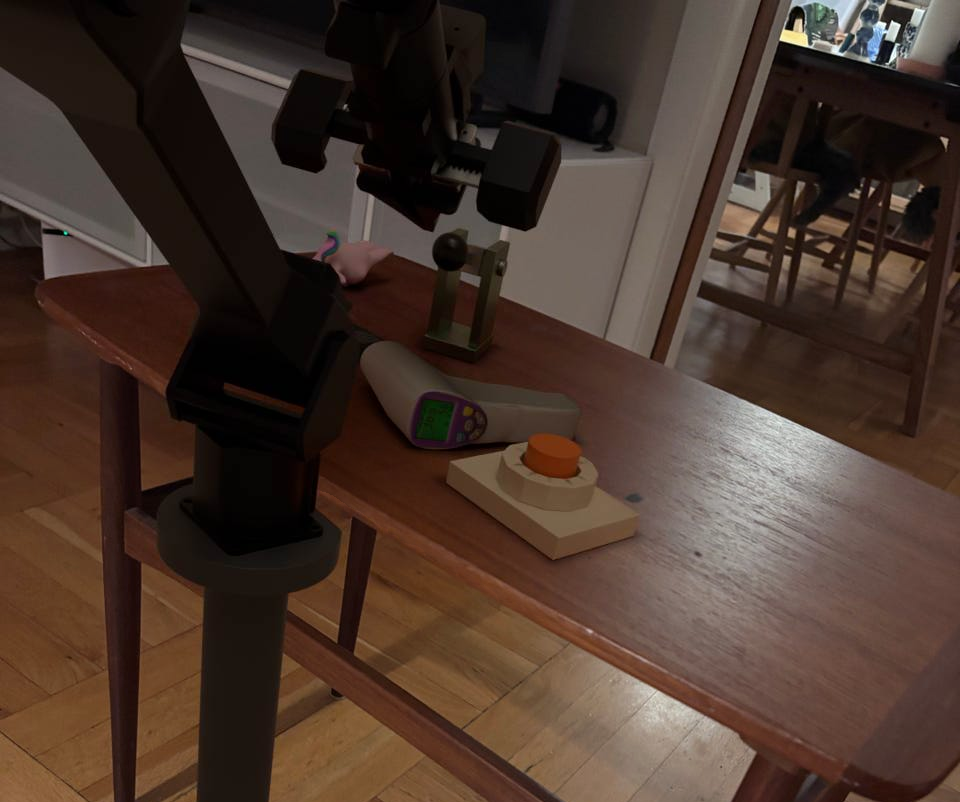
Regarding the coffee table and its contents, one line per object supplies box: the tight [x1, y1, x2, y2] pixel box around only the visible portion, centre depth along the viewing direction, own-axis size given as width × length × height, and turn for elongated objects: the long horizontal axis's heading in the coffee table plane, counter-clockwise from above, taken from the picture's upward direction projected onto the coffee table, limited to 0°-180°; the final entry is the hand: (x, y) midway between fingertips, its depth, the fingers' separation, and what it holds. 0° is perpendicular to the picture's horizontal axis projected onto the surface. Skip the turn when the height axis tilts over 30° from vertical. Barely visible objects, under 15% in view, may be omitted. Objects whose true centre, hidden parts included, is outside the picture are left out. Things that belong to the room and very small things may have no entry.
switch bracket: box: [422, 227, 511, 364], centre depth 89 cm, size 6×6×10 cm
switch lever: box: [431, 231, 487, 278], centre depth 83 cm, size 11×3×3 cm, turn 163°
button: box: [523, 434, 582, 479], centre depth 65 cm, size 4×4×2 cm
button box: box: [445, 442, 641, 561], centre depth 67 cm, size 8×11×4 cm
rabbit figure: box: [311, 230, 395, 288], centre depth 98 cm, size 6×6×15 cm
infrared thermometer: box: [359, 340, 583, 450], centre depth 77 cm, size 5×12×15 cm
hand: (430, 225), depth 73 cm, fingers closed
